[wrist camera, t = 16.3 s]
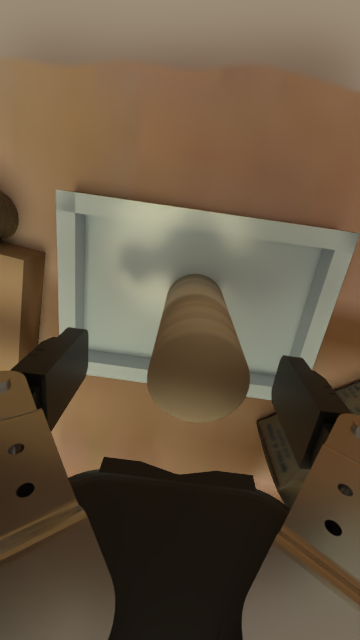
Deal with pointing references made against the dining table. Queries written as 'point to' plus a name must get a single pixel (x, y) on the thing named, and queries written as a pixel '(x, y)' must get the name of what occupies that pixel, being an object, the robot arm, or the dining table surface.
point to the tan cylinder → (197, 354)
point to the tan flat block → (19, 302)
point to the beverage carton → (281, 454)
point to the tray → (193, 258)
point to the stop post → (7, 217)
